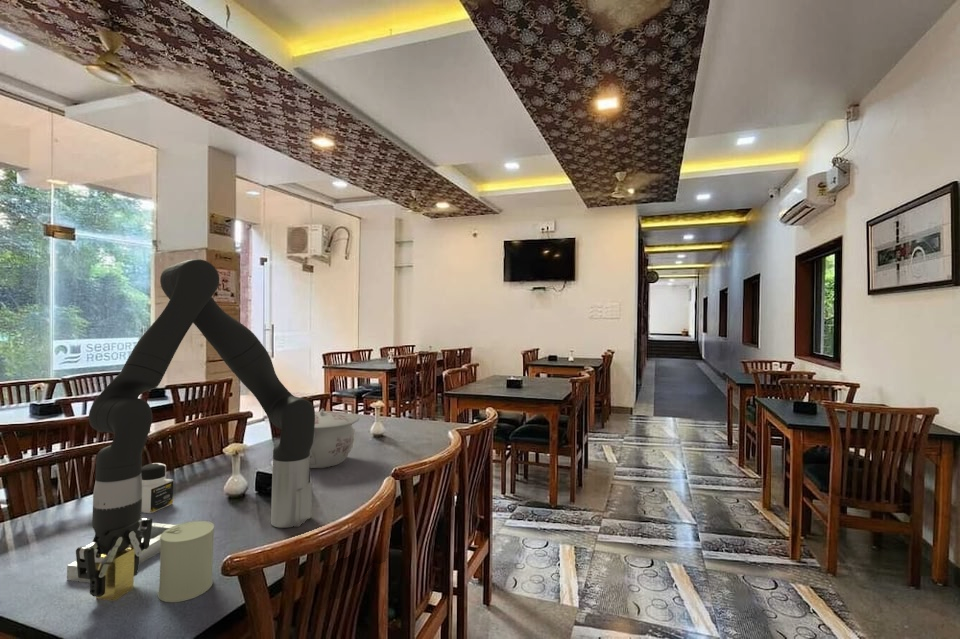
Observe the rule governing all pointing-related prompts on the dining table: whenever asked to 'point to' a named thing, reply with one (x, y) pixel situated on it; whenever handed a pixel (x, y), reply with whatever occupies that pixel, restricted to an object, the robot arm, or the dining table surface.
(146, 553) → the rail
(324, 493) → the dining table surface
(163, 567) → the can
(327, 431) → the chamber pot
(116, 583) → the yellow block
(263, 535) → the dining table surface
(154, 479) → the medicine bottle
